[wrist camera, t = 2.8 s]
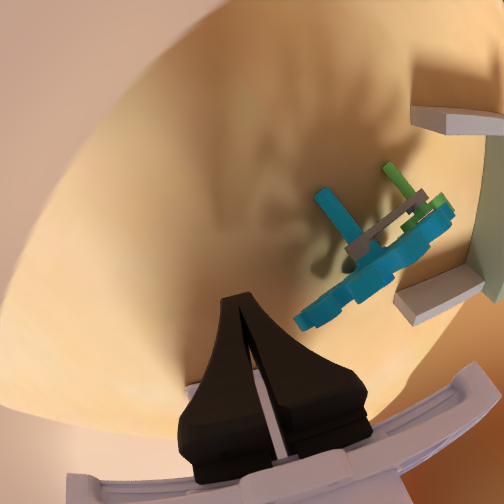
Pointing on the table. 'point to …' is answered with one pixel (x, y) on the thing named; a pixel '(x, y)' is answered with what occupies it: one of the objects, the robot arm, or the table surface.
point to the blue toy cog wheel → (377, 247)
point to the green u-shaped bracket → (486, 224)
